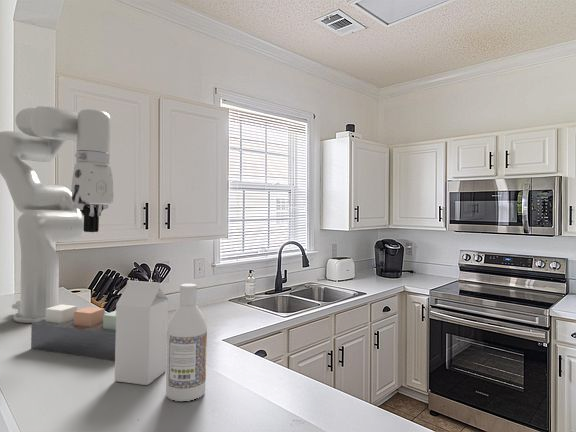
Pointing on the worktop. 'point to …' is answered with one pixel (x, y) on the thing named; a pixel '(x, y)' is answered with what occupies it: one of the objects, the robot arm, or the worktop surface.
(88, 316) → the peach key
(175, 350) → the bath foam
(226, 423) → the worktop surface
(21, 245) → the robot arm
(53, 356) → the worktop surface
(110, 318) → the pale green block
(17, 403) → the worktop surface
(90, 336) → the grey socket block
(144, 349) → the milk carton
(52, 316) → the ivory key
